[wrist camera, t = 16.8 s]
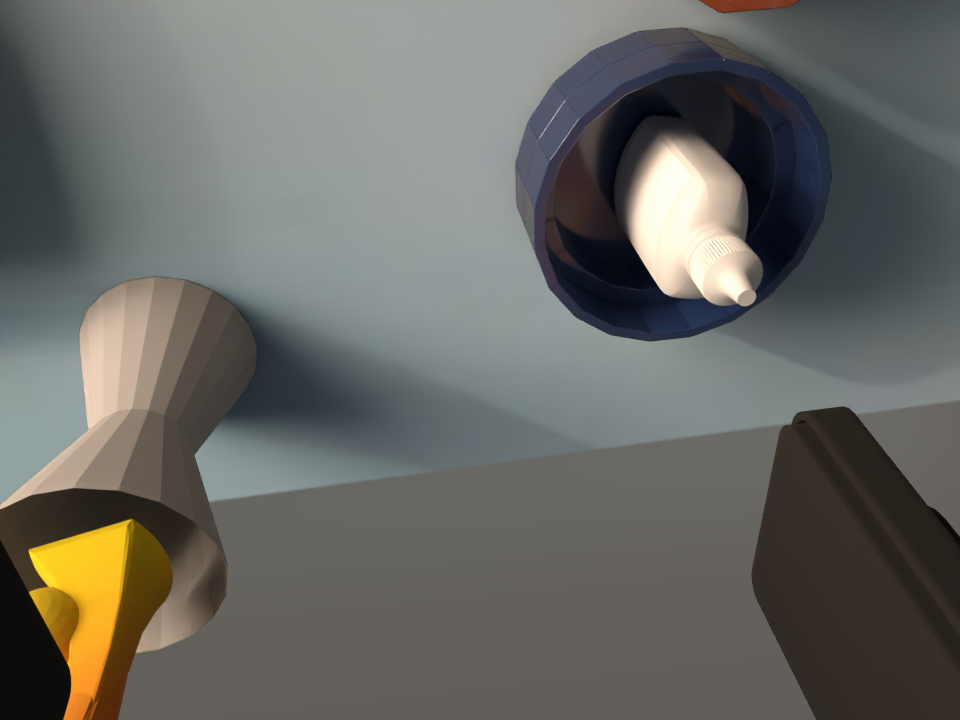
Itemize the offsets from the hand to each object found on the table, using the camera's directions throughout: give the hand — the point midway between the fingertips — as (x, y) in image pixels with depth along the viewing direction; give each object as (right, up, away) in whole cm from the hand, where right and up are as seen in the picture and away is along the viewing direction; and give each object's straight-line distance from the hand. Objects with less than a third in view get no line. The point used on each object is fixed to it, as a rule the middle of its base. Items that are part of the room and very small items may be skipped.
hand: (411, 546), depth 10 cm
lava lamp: (-15, +3, +33) cm, 36 cm away
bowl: (+9, +12, +31) cm, 34 cm away
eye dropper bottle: (+9, +11, +30) cm, 34 cm away
